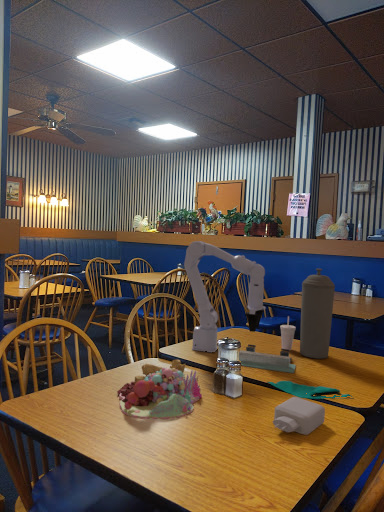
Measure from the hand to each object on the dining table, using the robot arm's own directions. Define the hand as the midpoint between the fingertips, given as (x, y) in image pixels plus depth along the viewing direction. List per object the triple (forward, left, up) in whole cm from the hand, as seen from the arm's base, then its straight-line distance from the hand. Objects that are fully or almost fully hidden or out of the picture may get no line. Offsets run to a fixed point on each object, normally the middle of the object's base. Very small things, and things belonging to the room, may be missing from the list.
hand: (254, 329), depth 160 cm
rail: (+6, -12, -10) cm, 16 cm away
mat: (+6, -12, -10) cm, 17 cm away
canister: (+23, +10, -10) cm, 27 cm away
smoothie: (+12, +14, -10) cm, 21 cm away
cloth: (+22, -31, -11) cm, 40 cm away
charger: (+20, -58, -10) cm, 62 cm away
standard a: (0, -2, -10) cm, 10 cm away
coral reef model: (-16, -56, -10) cm, 59 cm away
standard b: (+12, -2, -10) cm, 16 cm away
